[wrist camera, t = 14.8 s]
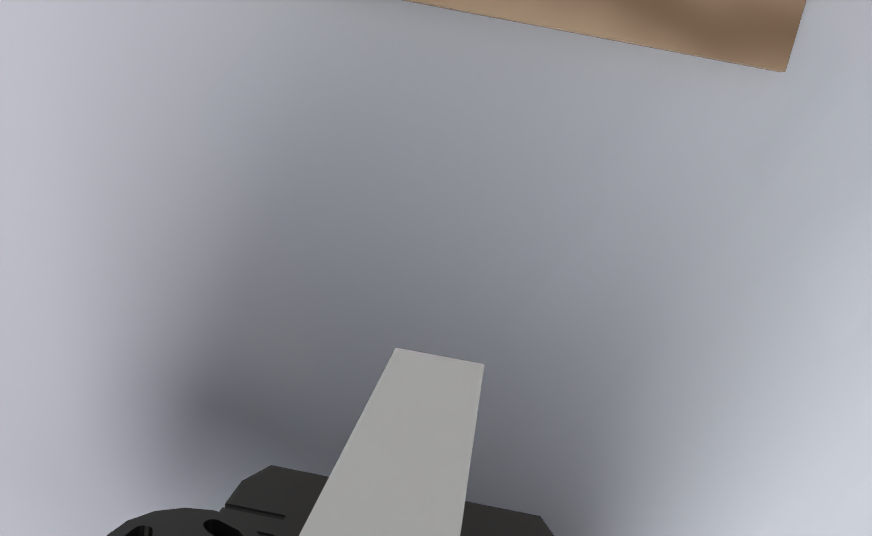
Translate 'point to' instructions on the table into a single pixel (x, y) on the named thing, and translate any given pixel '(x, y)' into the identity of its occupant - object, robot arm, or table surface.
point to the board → (664, 24)
